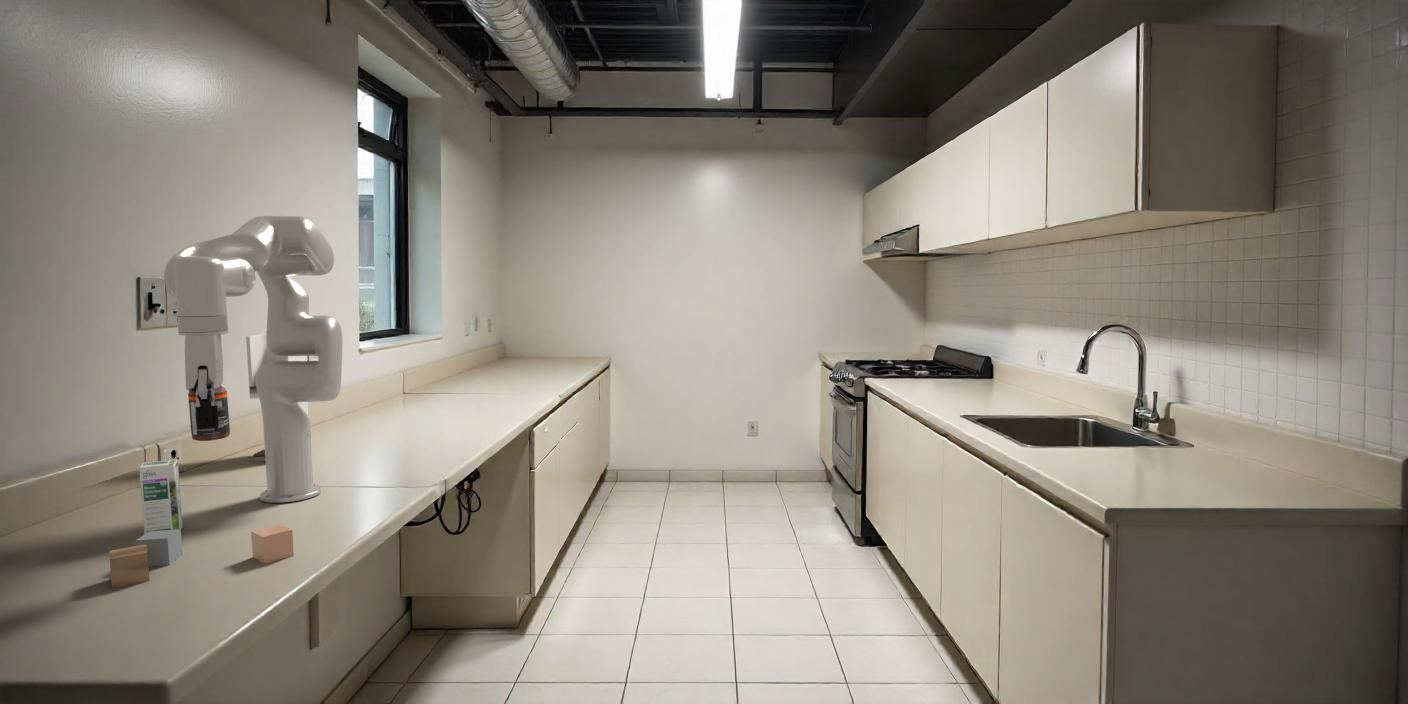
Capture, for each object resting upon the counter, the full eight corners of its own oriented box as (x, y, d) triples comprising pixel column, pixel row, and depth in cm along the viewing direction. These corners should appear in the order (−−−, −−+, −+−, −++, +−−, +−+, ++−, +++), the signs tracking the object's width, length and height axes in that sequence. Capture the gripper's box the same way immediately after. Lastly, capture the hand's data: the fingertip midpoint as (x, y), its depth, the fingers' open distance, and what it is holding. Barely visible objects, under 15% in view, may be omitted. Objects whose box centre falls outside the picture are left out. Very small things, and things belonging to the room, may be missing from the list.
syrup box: (143, 540, 148) (138, 467, 147) (149, 531, 153) (144, 460, 152) (179, 535, 151) (173, 463, 149) (183, 526, 156) (178, 457, 155)
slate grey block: (152, 557, 139) (149, 531, 139) (182, 555, 140) (180, 529, 140) (137, 567, 134) (135, 540, 134) (169, 565, 135) (167, 538, 135)
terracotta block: (252, 557, 139) (251, 531, 138) (281, 550, 143) (280, 524, 142) (264, 564, 136) (262, 537, 135) (293, 556, 140) (292, 529, 139)
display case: (272, 452, 223) (265, 333, 220) (310, 451, 225) (303, 333, 221) (253, 461, 212) (246, 336, 209) (293, 460, 213) (286, 336, 210)
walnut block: (112, 579, 129) (109, 550, 129) (148, 572, 132) (146, 544, 132) (112, 588, 125) (109, 559, 125) (149, 581, 128) (147, 552, 128)
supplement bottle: (203, 435, 141) (199, 374, 140) (237, 434, 142) (232, 374, 140) (184, 442, 135) (179, 379, 134) (219, 441, 136) (215, 378, 135)
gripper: (185, 324, 142) (192, 419, 144) (170, 330, 127) (178, 436, 129) (232, 322, 146) (238, 415, 147) (223, 328, 130) (230, 431, 132)
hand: (210, 424), depth 138 cm, fingers closed on supplement bottle, 6 cm apart
